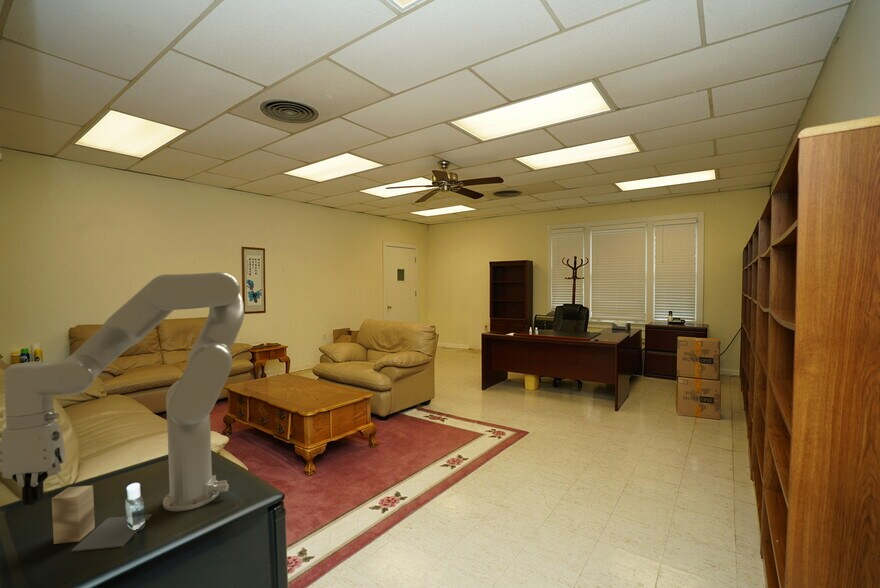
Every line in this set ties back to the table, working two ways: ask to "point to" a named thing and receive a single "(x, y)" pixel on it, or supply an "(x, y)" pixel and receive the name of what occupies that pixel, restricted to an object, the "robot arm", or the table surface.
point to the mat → (108, 535)
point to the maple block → (73, 514)
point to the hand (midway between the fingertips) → (33, 501)
